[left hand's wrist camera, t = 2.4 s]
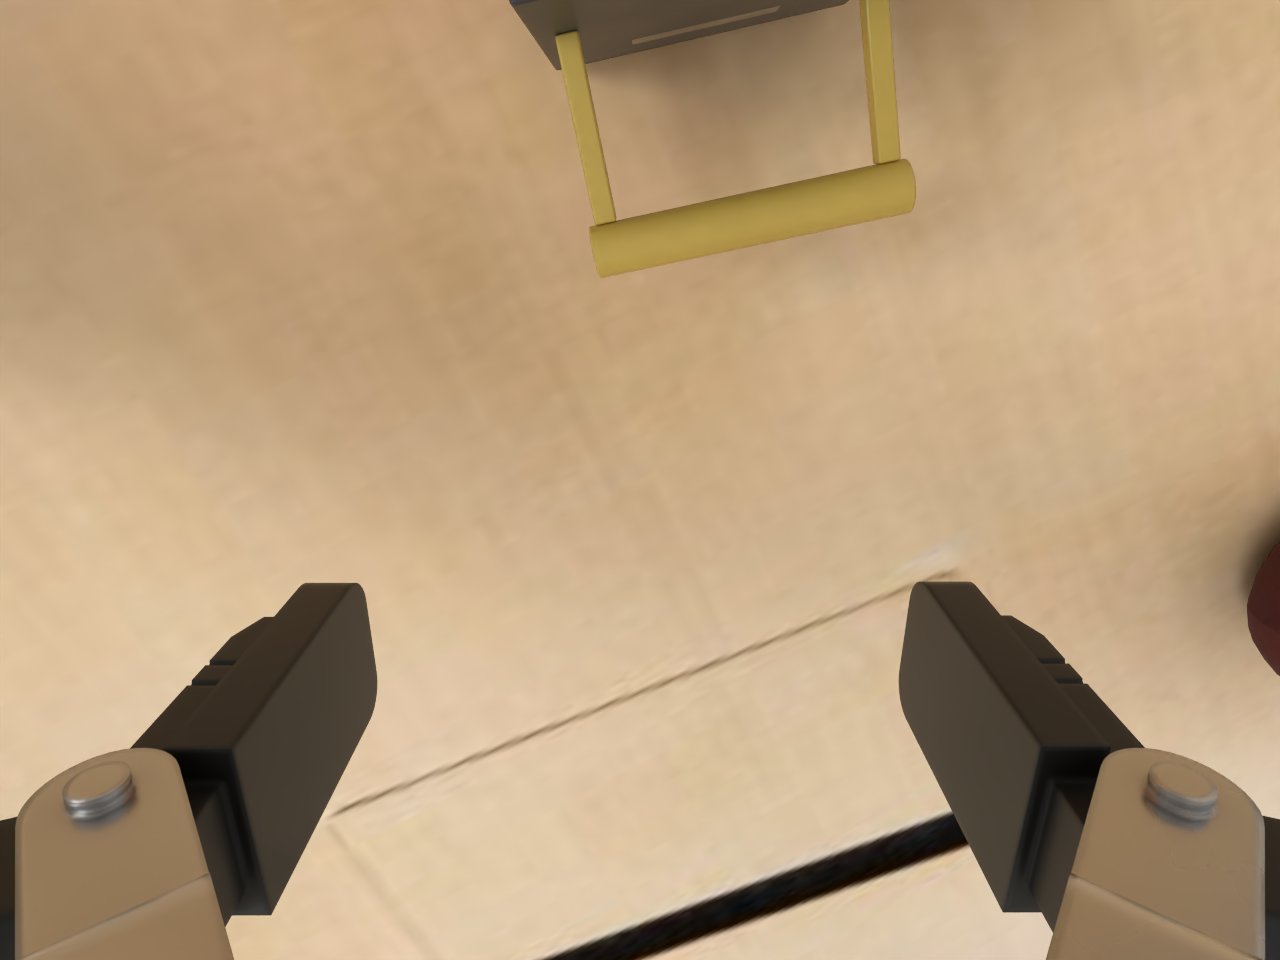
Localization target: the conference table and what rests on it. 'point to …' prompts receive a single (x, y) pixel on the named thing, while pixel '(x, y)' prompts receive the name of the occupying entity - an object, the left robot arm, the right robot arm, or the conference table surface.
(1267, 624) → the dark red ball
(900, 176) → the drawer
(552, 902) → the conference table surface
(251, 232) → the conference table surface
